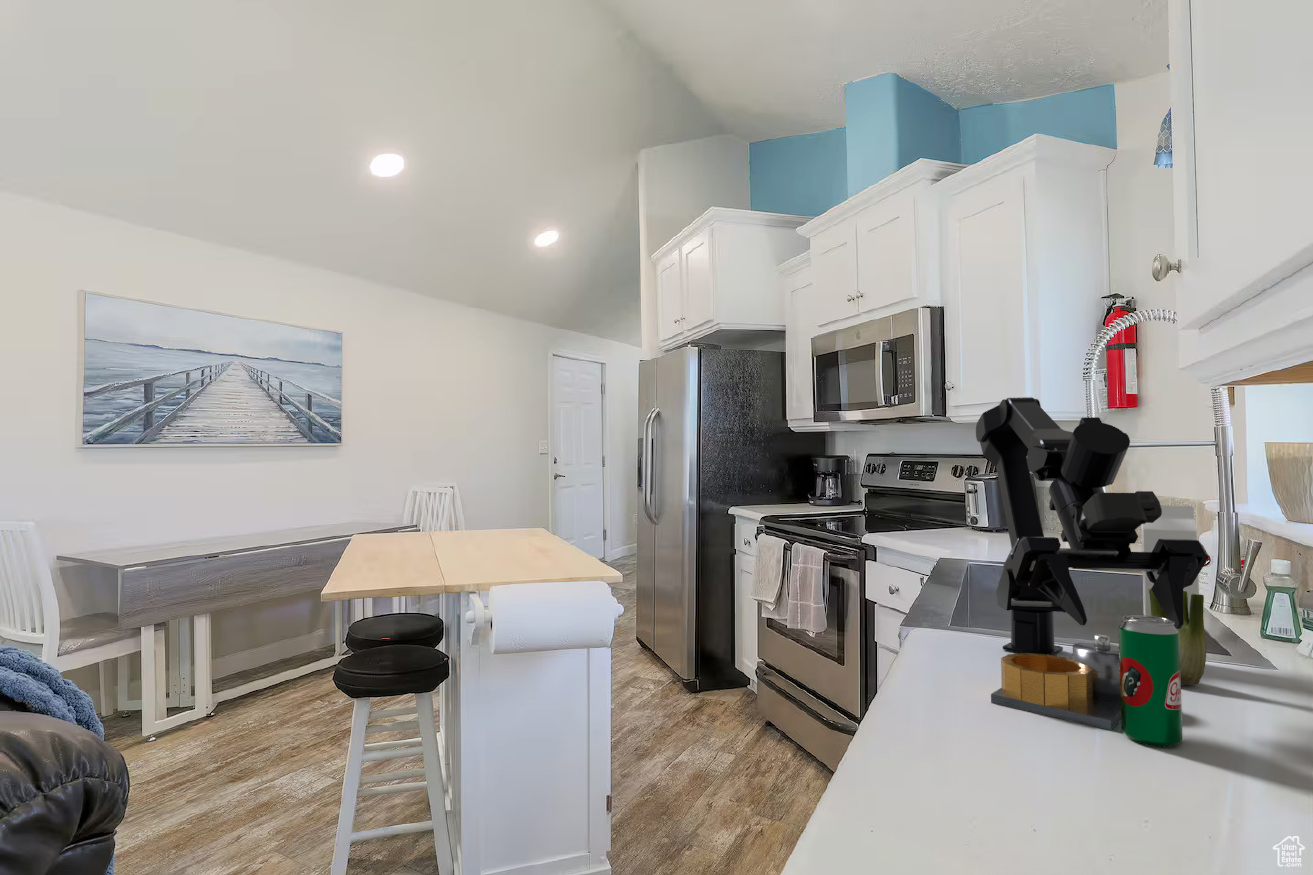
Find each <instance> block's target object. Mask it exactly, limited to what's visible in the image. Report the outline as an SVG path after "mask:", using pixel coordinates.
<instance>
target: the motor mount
mask: <svg viewBox="0 0 1313 875" xmlns="http://www.w3.org/2000/svg"><path fill="white" fill-rule="evenodd" d="M1000 667H1001V668H1000V672H1001V674H1000V675H1001V676H1000V678H1001V679H1000V680H1001V687H1000V688H999V689H997V690H995V691H993V692H992V693H990V703H992V704H995V705H1000V706H1005V707H1009V708H1013V709H1017V710H1022V711H1026V712H1031V713H1034V714H1039V715H1043V716H1048V717H1053V718H1056V719H1060V720H1064V721H1069V722H1074V723H1079V724H1083V725H1087V726H1091V727H1096V728H1099V729H1103V730H1104V729H1105V730H1109V731H1112V730H1113V729H1114V728H1115V727H1116V726H1117V725H1118V724H1119V723H1121V701H1120V665H1119V645H1118V646H1117V645H1114V644H1111V637H1110V635H1105V634H1094V635H1093V642H1077V643H1074V644H1072V658H1068V657H1064V656H1057V655H1046V654H1032V653H1020V652H1018V653H1009V654H1006V655H1004V656H1002V657H1001V658H1000Z"/></svg>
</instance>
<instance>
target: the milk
mask: <svg viewBox="0 0 1313 875" xmlns="http://www.w3.org/2000/svg"><path fill="white" fill-rule="evenodd" d="M1160 505H1161V504H1160ZM1161 509H1162V515H1161V516H1160V517H1159V518H1158V519H1157V520H1156V521H1154V522H1153V523H1145V524H1141V525H1140V526H1141V527H1140V532H1141V552H1152V551H1153V549H1154V547H1155V545H1156V543H1157V541H1158V539H1193V540H1198V531H1197V530H1198V529H1197V524H1196V519H1195V509H1194V506H1192V505H1169V504H1168V505H1166V504H1165V505H1164V504H1162V505H1161ZM1153 585H1154V583H1152V582H1150V581H1149V578H1148V576H1147V574H1146V571H1142V594H1143V595H1142V598H1143V599H1142V600H1143V615H1147V616H1151V603H1150V594H1149V589H1150V588H1152V587H1153ZM1199 587H1200V585H1199V575H1198V576H1197V578H1196V579H1195V581H1194V582H1193V584H1192V585H1190V586H1188V587H1185V588H1184V589H1183V591H1187V597H1188V613H1189V614H1190V601H1191V594H1192V593H1194V594H1200V588H1199Z"/></svg>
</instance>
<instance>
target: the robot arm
mask: <svg viewBox="0 0 1313 875" xmlns="http://www.w3.org/2000/svg"><path fill="white" fill-rule="evenodd" d="M1078 423H1079V424H1078V425H1077V426H1076V427H1075V428H1074V429H1073V432H1072V431H1069V430H1065V429H1062V428H1061V427H1060V426H1059V424H1057V423H1056V422H1055V420H1053V418H1051V416H1050V415H1049V414H1048V413H1047V412H1046V410H1044V409H1043V408H1042V406H1041V402H1040V400H1039V399H1038V398H1034V397H1032V396H1031V397H1029V396H1028V397H1027V396H1026V397H1007V398H1006V399H1005V398H1004V399H1002V400H1001V401H1000V402H999V404H998V405H997V406H994V407H992V408H991V409H988V410H986V411H984V412H983V413H982V414H981V415H980V417H979V419H978V421H977V422H976V426H975V438H976V441H977V442H978V443H979V444H980V447H981V452H982V455H983V457H984V458H985V459H987V460H988V461H989V462H990V463H991V464H992V466H994V467H995V468H996V473H997V479H998V484H999V489H1000V493H1001V494H1000V495H1001V499H1002V506H1003V510H1004V515H1005V520H1006V525H1007V530H1008V535H1009V540H1010V546H1011V550H1010V551H1009V553H1008V555H1007V557H1006V559H1005V561H1004V563H1003V570H1002V572H1001V576H1000V579H999V581H998V585H997V587H996V592H995V593H996V602H997V606H999V607H1000V608H1002V609H1004V610H1005V611H1010V642H1009V643H1006V644H1004V645H1002V650H1004V651H1010V652H1015V653H1032V654H1046V655H1053V656H1056V655H1057V654H1058V653H1060V652H1062V651H1063V650H1064V647H1063V646H1061V645H1055V612H1059V613H1060V612H1061V613H1067V614H1068V615H1069V616H1070V617H1071V618H1072V619H1073V620H1074V621H1076V623H1078V624H1079V626H1086V624H1087V622H1088V617H1087V615H1086V611H1085V606H1084V605H1083V602H1082V600H1081V597H1080V595H1079V593H1078V591H1077V589H1076V588H1077V587H1076V585H1075V584H1074V581H1073V579H1072V577H1071V574H1070V570H1069V568H1072V570H1073V569H1074V570H1076V569H1077V570H1079V569H1080V570H1092V571H1114V572H1115V571H1116V572H1117V571H1119V572H1120V571H1121V572H1143V571H1146V574H1147V576H1148V578H1149V581H1150V582H1152V583H1154V585H1153V587H1152V588H1151V590H1152V592H1153V593H1154V595H1155V597H1156V598H1157V600H1158V602H1159V604H1160V605H1161V607H1162V609H1163V610H1164V612H1165V614H1166V616H1167V617H1168V619H1169V620H1172V621H1174V623H1175V624H1174V627H1175V628H1176V629H1181V627H1182V626H1183V624H1184V611H1183V589H1184V588H1185V587H1188V586H1190V585H1192V584H1193V582H1194V581H1195V579H1196V578H1197V576H1198V577H1199V574H1200V573H1201V571H1202V569H1203V568H1204V566H1205V564H1206V563H1207V561H1208V560H1209V559H1210V555H1209V553H1208V552H1207V550H1206V549H1205V547H1204V545H1203V544H1202V542H1200V540H1198V539H1197V540H1193V539H1158V541H1157V543H1156V545H1155V547H1154V549H1153V551H1152V552H1142V551H1132V550H1131V547H1130V545H1131V544H1136V542H1137V540H1138V538H1139V536H1138V533H1137V532H1136V530H1137V528H1139V527H1140V526H1141V524H1145V523H1153V522H1154V521H1156V520H1157V519H1158V518H1159V517H1160V516H1161V515H1162V509H1161V502H1160V500H1159V498H1158V497H1157V496H1156V494H1155V493H1154V491H1151V490H1150V491H1148V490H1140V491H1139V490H1137V491H1135V492H1105V491H1104V489H1103V488H1105V487H1107V486H1110V485H1113V484H1114V482H1115V480H1116V478H1117V476H1118V472H1119V471H1120V468H1121V466H1122V463H1123V461H1124V460H1125V456H1126V454H1127V451H1128V450H1129V447H1130V444H1131V439H1130V436H1129V434H1127V433H1126V432H1124V431H1122V430H1121V429H1119V428H1118V427H1116V426H1113V425H1111V424H1108V423H1106V422H1105V423H1104V422H1102V421H1101V418H1100V417H1099V416H1097V417H1096V416H1095V417H1081V418H1080V421H1079V422H1078ZM1031 474H1032V476H1033V477H1034V478H1035V479H1036V480H1037V481H1038V482H1051V483H1050V485H1049V489H1048V493H1049V495H1050V499H1049V503H1048V504H1049V506H1048V507H1049V511H1055V512H1056V515H1057V517H1058V519H1059V523H1060V525H1061V528H1062V531H1061V534H1060V538H1061V541H1062V542H1063V543H1068V546H1069V548H1067V547H1065V548H1063V547H1061V546H1062V544H1061V543H1060V539H1059V538H1058V537H1055V536H1045V534H1044V530H1043V525H1042V521H1041V516H1040V511H1039V507H1038V506H1039V505H1038V502H1037V498H1036V494H1035V493H1036V492H1035V489H1034V484H1033V480H1032V476H1031ZM1012 599H1013V600H1012Z"/></svg>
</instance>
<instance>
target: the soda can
mask: <svg viewBox="0 0 1313 875" xmlns="http://www.w3.org/2000/svg"><path fill="white" fill-rule="evenodd" d="M1121 618H1122V621H1121V622H1120V624H1119V625H1118V627H1117V628H1118V646H1119V665H1120V701H1121V721H1120V729H1121V731H1122V732H1123V734H1124V735H1125V736H1126V737H1127V738H1128V739H1130V740H1132V741H1133V742H1136V743H1138V744H1142V745H1146V746H1150V747H1155V748H1173V747H1177V746H1178V745H1180V743H1181V742H1183V740H1184V739H1183V738H1184V735H1183V734H1184V733H1183V708H1182V707H1183V706H1182V705H1183V704H1182V685H1181V669H1180V637H1179V632H1178V631H1177V629H1176V628H1175V627H1174V624H1175V623H1174V621H1172V620H1169V619H1166V618H1161V617H1155V616H1147V615H1144V614H1126V615H1123V616H1121Z"/></svg>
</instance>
